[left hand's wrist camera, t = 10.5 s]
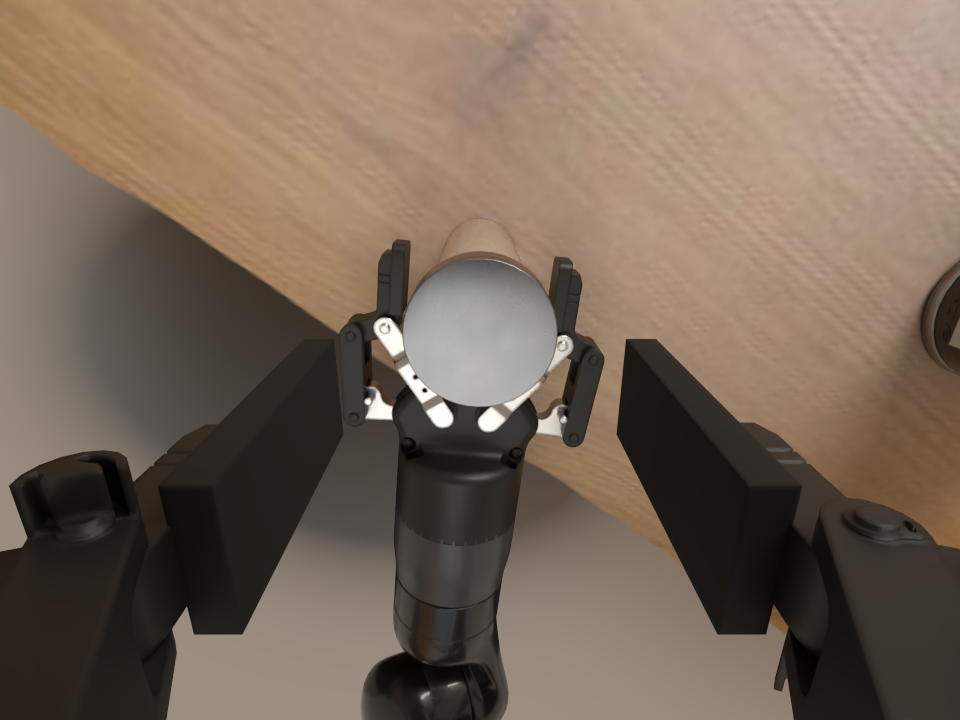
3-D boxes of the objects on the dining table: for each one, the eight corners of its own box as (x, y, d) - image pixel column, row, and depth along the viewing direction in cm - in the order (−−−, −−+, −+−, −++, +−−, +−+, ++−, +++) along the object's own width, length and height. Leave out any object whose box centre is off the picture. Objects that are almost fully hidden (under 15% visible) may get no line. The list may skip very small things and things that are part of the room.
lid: (554, 383, 20) (561, 400, 19) (418, 394, 21) (413, 413, 19) (548, 244, 19) (554, 251, 17) (398, 257, 19) (391, 266, 17)
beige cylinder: (517, 285, 35) (547, 386, 19) (449, 291, 35) (423, 397, 19) (512, 215, 33) (541, 262, 18) (441, 221, 34) (406, 274, 18)
